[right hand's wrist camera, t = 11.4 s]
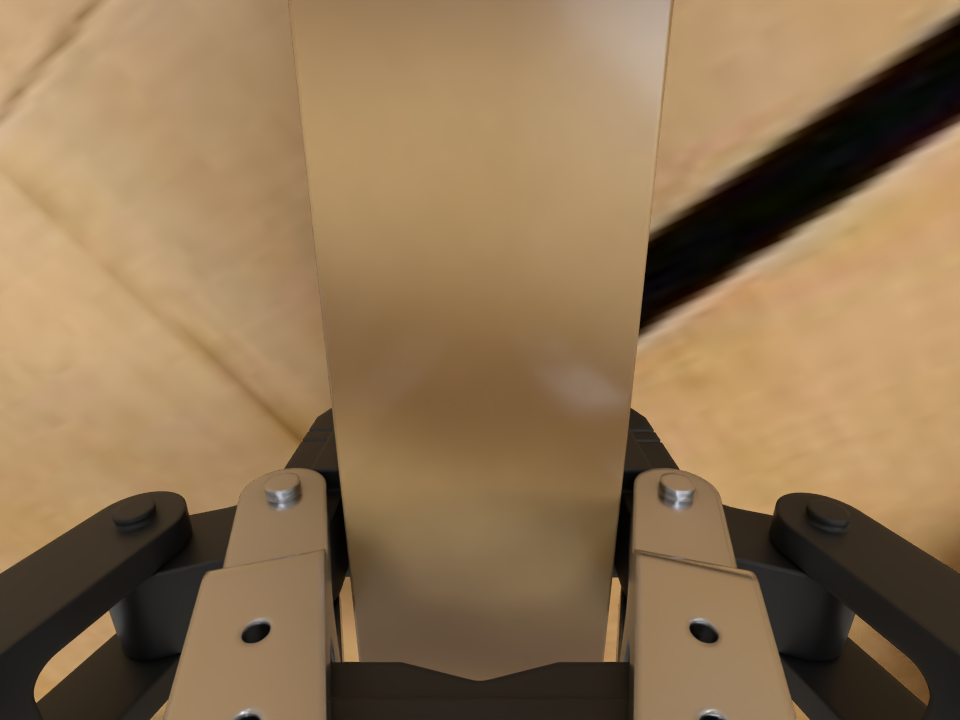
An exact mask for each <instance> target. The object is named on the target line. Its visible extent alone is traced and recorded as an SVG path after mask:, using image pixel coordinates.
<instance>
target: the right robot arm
mask: <svg viewBox="0 0 960 720" xmlns="http://www.w3.org/2000/svg"><path fill="white" fill-rule="evenodd" d="M345 577H350V570H349V561H348V551H347V542H346V533H345V524H344V514H343V505H342V496H341V486H340V477H339V468H338V459H337V449H336V440H335V431H334V422H333V412H332V408H331V409H329V410H328V411H326V412H325V413H323V414H322V415H320V416H319V417H317V419H316V420H315V422H314V423H313V425H312V427H311V428H310V432H308V433H307V434H306V436H305V437H304V439H303V442H301V444H300V445H299V447H298V448H297V450H296V451H295V453H294V454H293V456H292V458H291V459H290V461H289V462H288V464H287V465H286V467H285V468H284V469H283V470H278V471H274V472H271V473H268V474H266V475H263V476H261V477H259V478H257V479H256V480H254V481H253V482H251V483H250V484H249V485H247V486H246V487H245V489H244V490H243V491H242V493H241V495H240V497H239V501H238V505H236V506H233V507H229V508H224V509H219V510H214V511H209V512H204V513H199V514H193V515H189V513H188V509H187V505H186V501H185V499H184V498H183V497H182V496H180V495H179V494H176V493H173V492H164V491H158V492H149V493H143V494H139V495H135V496H132V497H128V498H126V499H123V500H120V501H118V502H116V503H114V504H112V505H110V506H108V507H106V508H105V509H103V510H101V511H100V512H98V513H96V514H95V515H93V516H92V517H90V518H88V519H87V520H85V521H84V522H82V523H80V524H79V525H77V526H76V527H74V528H73V529H71V530H69V531H68V532H66V533H65V534H63V535H61V536H60V537H58V538H57V539H55V540H53V541H52V542H50V543H49V544H47V545H45V546H44V547H42V548H41V549H39V550H38V551H36V552H34V553H33V554H31V555H30V556H28V557H26V558H25V559H23V560H22V561H20V562H18V563H17V564H15V565H14V566H12V567H10V568H9V569H7V570H6V571H4V572H2V573H1V574H0V720H150V719H151V718H152V717H153V716H154V714H155V713H156V712H157V711H158V710H159V709H160V708H161V707H162V706H163V705H164V703H165V702H166V701H167V700H168V703H167V707H166V710H165V714H164V717H163V720H797V717H796V714H795V710H794V707H793V703H792V700H793V701H794V702H795V703H796V705H797V706H798V707H799V708H800V709H801V710H802V711H803V712H804V713H805V714H806V716H807V717H808V718H809V719H810V720H960V574H959V573H958V572H956V571H954V570H953V569H951V568H950V567H948V566H946V565H945V564H943V563H942V562H940V561H938V560H937V559H935V558H934V557H932V556H930V555H929V554H927V553H926V552H924V551H923V550H921V549H919V548H918V547H916V546H915V545H913V544H911V543H910V542H908V541H907V540H905V539H903V538H902V537H900V536H899V535H897V534H895V533H894V532H892V531H891V530H889V529H887V528H886V527H884V526H883V525H881V524H880V523H878V522H876V521H875V520H873V519H872V518H870V517H868V516H867V515H865V514H864V513H862V512H860V511H859V510H857V509H855V508H854V507H852V506H850V505H848V504H845V503H843V502H841V501H838V500H836V499H833V498H829V497H826V496H822V495H818V494H811V493H791V494H787V495H784V496H782V497H780V498H779V499H778V500H777V503H776V506H775V510H774V514H773V516H772V515H767V514H762V513H757V512H752V511H747V510H742V509H737V508H733V507H729V506H726V505H723V504H722V501H721V497H720V495H719V493H718V491H717V490H716V489H715V487H714V486H713V485H711V484H710V483H709V482H707V481H706V480H704V479H703V478H701V477H699V476H697V475H694V474H692V473H689V472H686V471H682V470H680V469H679V468H678V466H677V465H676V463H675V462H674V460H673V459H672V457H671V456H670V454H669V453H668V451H667V450H666V448H665V447H664V445H663V444H662V443H660V439H659V437H658V436H657V434H656V433H655V432H654V431H653V428H652V427H651V425H650V424H649V422H648V421H647V419H646V418H645V417H644V416H642V415H641V414H639V413H638V412H636V411H635V410H633V409H632V408H630V417H629V426H628V435H627V445H626V454H625V463H624V473H623V482H622V491H621V501H620V510H619V520H618V529H617V538H616V548H615V557H614V566H613V576H612V577H618V578H619V581H620V584H621V592H620V600H619V610H618V629H617V648H616V662H557V663H553V664H549V665H545V666H541V667H537V668H533V669H529V670H525V671H521V672H517V673H513V674H509V675H505V676H501V677H497V678H493V679H489V680H484V681H476V680H471V679H467V678H463V677H459V676H455V675H451V674H447V673H443V672H439V671H435V670H431V669H427V668H423V667H419V666H415V665H411V664H407V663H403V662H344V648H343V629H342V610H341V600H340V591H341V588H342V585H343V582H344V579H345ZM107 611H109V612H110V615H111V618H112V621H113V624H114V627H115V630H116V634H115V635H114V636H113V637H111V638H110V639H109V640H108V641H107V642H106V643H105V644H103V645H102V646H101V647H100V648H99V649H98V650H97V651H95V652H94V653H93V654H92V655H91V656H90V657H89V658H87V659H86V660H85V661H84V662H83V663H82V664H81V665H79V666H78V667H77V668H76V669H75V670H74V671H73V672H71V673H70V674H69V675H68V676H67V677H66V678H65V679H63V680H62V681H61V682H60V683H59V684H58V685H57V686H55V687H54V688H53V689H52V690H51V691H50V692H49V693H47V694H46V695H45V696H44V697H43V698H42V699H41V700H39V701H38V702H37V703H36V702H35V699H34V687H35V683H36V680H37V678H38V676H39V674H40V672H41V671H42V669H43V668H44V666H45V665H46V664H47V662H48V661H49V660H50V659H51V658H52V657H53V656H54V655H55V654H56V653H57V652H59V651H60V650H61V649H62V648H64V647H65V646H66V645H67V644H68V643H70V642H71V641H72V640H73V639H74V638H76V637H77V636H78V635H79V634H81V633H82V632H83V631H84V630H85V629H87V628H88V627H89V626H90V625H92V624H93V623H94V622H95V621H96V620H98V619H99V618H100V617H101V616H102V615H104V614H105V613H106V612H107ZM855 614H856V615H858V616H859V617H860V618H861V619H862V620H864V621H865V622H866V623H867V624H869V625H870V626H871V627H872V628H873V629H875V630H876V631H877V632H878V633H879V634H881V635H882V636H883V637H884V638H886V639H887V640H888V641H889V642H890V643H892V644H893V645H894V646H895V647H897V648H898V649H899V650H900V651H901V652H903V653H904V654H905V655H906V656H907V657H908V658H910V659H911V660H912V661H913V663H914V664H915V665H916V666H917V667H918V669H919V670H920V671H921V673H922V674H923V676H924V678H925V680H926V682H927V685H928V688H929V693H930V700H929V703H928V706H926V705H925V704H924V703H923V702H922V701H921V700H919V699H918V698H917V697H916V696H915V695H914V694H913V693H911V692H910V691H909V690H908V689H907V688H906V687H905V686H903V685H902V684H901V683H900V682H899V681H898V680H897V679H895V678H894V677H893V676H892V675H891V674H890V673H889V672H887V671H886V670H885V669H884V668H883V667H882V666H881V665H879V664H878V663H877V662H876V661H875V660H874V659H873V658H871V657H870V656H869V655H868V654H867V653H866V652H865V651H863V650H862V649H861V648H860V647H859V646H858V645H857V644H855V643H854V642H853V641H852V640H851V639H850V638H849V637H847V636H848V633H849V631H850V628H851V625H852V622H853V619H854V616H855Z"/></svg>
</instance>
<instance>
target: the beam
mask: <svg viewBox="0 0 960 720" xmlns="http://www.w3.org/2000/svg"><path fill="white" fill-rule="evenodd" d="M288 4H289V14H290V23H291V32H292V42H293V51H294V60H295V69H296V79H297V88H298V97H299V106H300V116H301V125H302V134H303V143H304V153H305V162H306V171H307V181H308V190H309V199H310V208H311V218H312V227H313V236H314V245H315V255H316V264H317V273H318V283H319V292H320V301H321V310H322V320H323V329H324V338H325V347H326V357H327V366H328V375H329V384H330V394H331V403H332V412H333V422H334V431H335V440H336V449H337V459H338V468H339V477H340V486H341V496H342V505H343V514H344V524H345V533H346V542H347V551H348V561H349V570H350V579H351V588H352V598H353V607H354V616H355V625H356V635H357V644H358V653H359V662H403V663H407V664H411V665H415V666H419V667H423V668H427V669H431V670H435V671H439V672H443V673H447V674H451V675H455V676H459V677H463V678H467V679H471V680H476V681H484V680H489V679H493V678H497V677H501V676H505V675H509V674H513V673H517V672H521V671H525V670H529V669H533V668H537V667H541V666H545V665H549V664H553V663H557V662H603V660H604V651H605V641H606V632H607V623H608V613H609V604H610V594H611V585H612V576H613V566H614V557H615V548H616V538H617V529H618V520H619V510H620V501H621V491H622V482H623V473H624V463H625V454H626V445H627V435H628V426H629V417H630V407H631V398H632V388H633V379H634V370H635V360H636V351H637V342H638V332H639V323H640V313H641V304H642V295H643V285H644V276H645V267H646V257H647V248H648V239H649V229H650V220H651V210H652V201H653V192H654V182H655V173H656V164H657V154H658V145H659V136H660V126H661V117H662V107H663V98H664V89H665V79H666V70H667V61H668V51H669V42H670V33H671V23H672V14H673V4H674V0H288Z"/></svg>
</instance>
